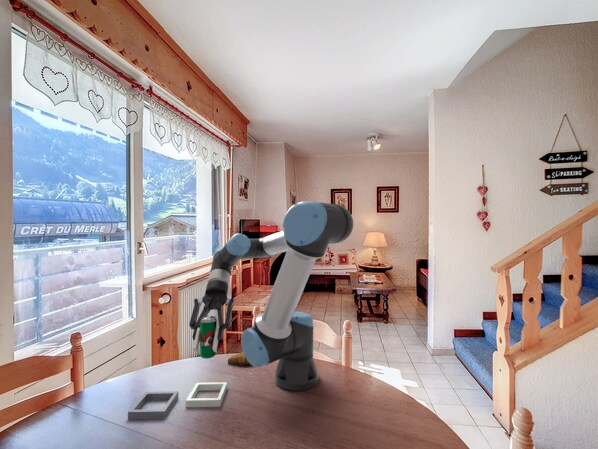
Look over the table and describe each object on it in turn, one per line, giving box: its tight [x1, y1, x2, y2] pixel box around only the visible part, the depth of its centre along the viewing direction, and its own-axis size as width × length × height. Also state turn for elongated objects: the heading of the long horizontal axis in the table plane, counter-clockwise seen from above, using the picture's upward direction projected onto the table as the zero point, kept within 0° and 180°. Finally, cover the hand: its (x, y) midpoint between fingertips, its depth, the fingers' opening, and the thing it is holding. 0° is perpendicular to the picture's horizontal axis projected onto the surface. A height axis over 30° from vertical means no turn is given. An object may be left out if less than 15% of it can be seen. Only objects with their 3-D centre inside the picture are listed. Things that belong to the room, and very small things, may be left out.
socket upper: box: [127, 391, 179, 420], centre depth 85 cm, size 10×10×2 cm
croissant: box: [227, 351, 251, 366], centre depth 115 cm, size 14×7×5 cm, turn 92°
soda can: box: [199, 314, 218, 359], centre depth 91 cm, size 5×5×12 cm
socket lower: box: [185, 381, 228, 408], centre depth 91 cm, size 10×10×2 cm
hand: (204, 350), depth 87 cm, fingers closed on soda can, 5 cm apart
